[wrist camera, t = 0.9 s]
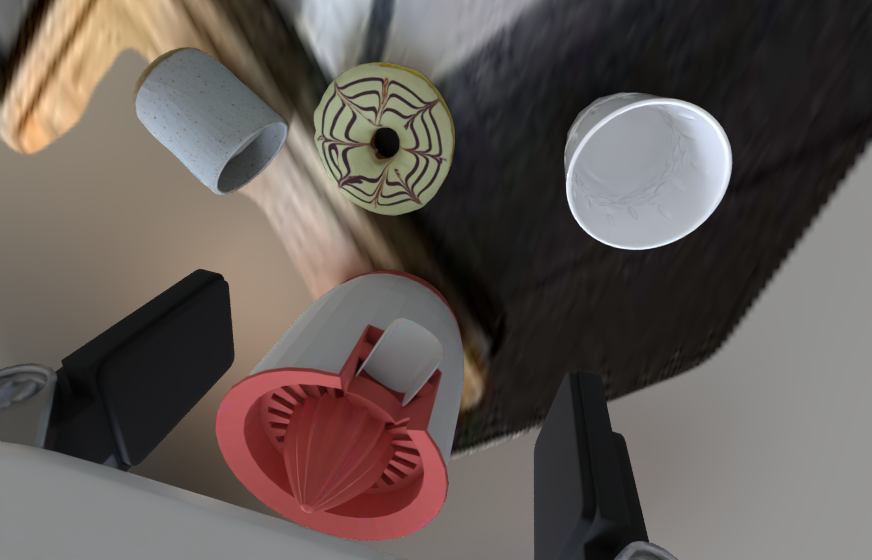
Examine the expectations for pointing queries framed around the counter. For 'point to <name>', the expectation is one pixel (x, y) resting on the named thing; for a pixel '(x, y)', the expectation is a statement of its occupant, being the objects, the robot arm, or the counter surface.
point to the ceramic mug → (208, 118)
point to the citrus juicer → (353, 410)
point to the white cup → (644, 169)
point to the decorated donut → (379, 108)
